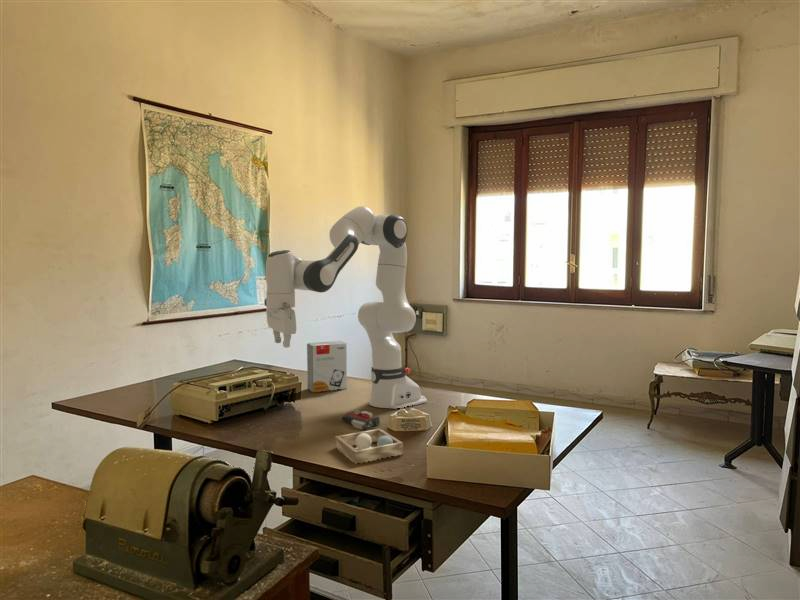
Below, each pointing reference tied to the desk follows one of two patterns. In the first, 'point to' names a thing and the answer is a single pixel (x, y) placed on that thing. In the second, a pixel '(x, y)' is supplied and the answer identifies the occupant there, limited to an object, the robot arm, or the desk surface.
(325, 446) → the desk surface
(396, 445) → the shallow open tray
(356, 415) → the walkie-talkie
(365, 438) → the cream ball
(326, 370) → the hard drive box
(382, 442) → the blue ball
